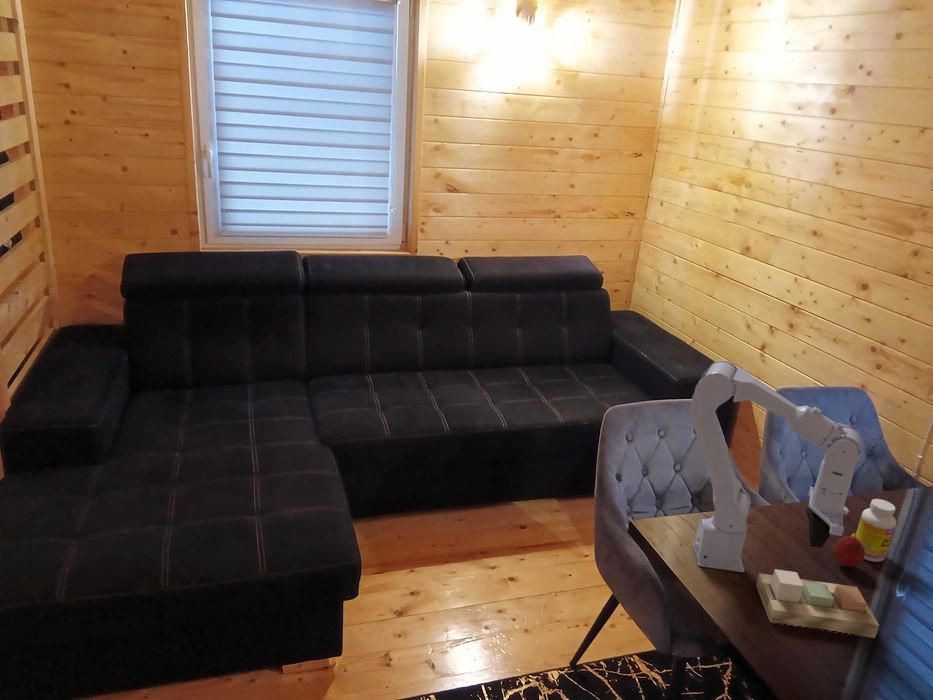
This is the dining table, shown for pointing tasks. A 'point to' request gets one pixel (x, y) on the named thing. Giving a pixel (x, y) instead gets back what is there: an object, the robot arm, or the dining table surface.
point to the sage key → (817, 595)
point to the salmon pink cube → (849, 599)
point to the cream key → (786, 586)
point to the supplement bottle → (876, 529)
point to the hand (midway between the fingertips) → (815, 545)
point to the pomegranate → (849, 551)
